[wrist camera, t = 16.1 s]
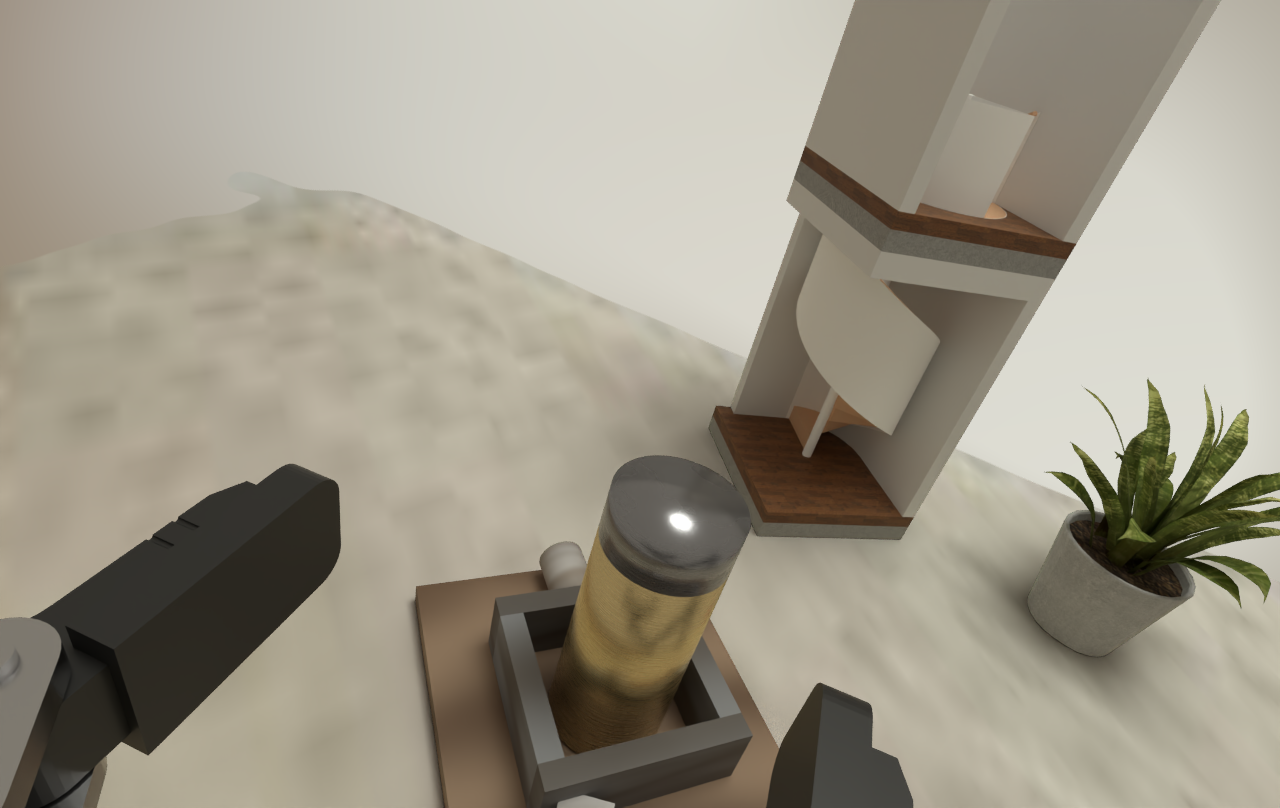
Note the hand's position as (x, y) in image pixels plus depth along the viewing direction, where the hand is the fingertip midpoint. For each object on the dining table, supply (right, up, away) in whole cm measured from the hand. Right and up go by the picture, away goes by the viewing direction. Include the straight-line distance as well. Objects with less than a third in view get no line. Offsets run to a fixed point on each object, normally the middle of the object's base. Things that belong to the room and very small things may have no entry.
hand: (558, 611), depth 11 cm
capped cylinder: (0, -10, +19) cm, 22 cm away
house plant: (+29, -11, +32) cm, 45 cm away
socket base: (0, -11, +20) cm, 23 cm away
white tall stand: (+13, -2, +39) cm, 41 cm away
